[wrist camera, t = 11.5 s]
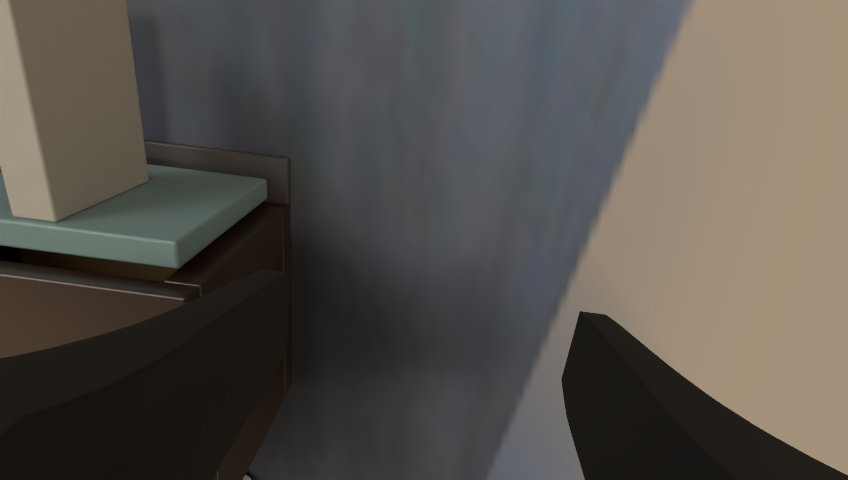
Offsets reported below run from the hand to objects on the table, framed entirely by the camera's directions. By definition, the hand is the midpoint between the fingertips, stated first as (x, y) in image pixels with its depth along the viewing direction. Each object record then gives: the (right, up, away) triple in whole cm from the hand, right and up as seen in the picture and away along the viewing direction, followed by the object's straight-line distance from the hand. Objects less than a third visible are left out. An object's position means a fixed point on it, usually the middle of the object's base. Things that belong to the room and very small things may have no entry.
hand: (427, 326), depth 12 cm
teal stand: (-9, +7, +5) cm, 13 cm away
